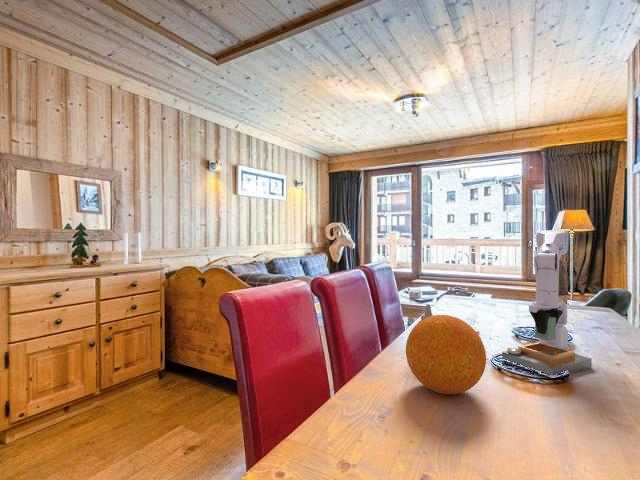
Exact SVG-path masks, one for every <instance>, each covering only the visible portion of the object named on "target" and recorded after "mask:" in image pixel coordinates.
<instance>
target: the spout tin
mask: <svg viewBox="0 0 640 480" xmlns="http://www.w3.org/2000/svg"><path fill="white" fill-rule="evenodd" d="M534 324H535V323H534ZM534 330H535V331H534V338H536V339H538V340H539V339H543V340H546V341H550V340H555V339H556V317H551V316H550V317H549V319H548V322H547V329H546V333H545V334H541V333H538V331H537V328H536V324H535V327H534Z"/></svg>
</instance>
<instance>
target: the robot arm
mask: <svg viewBox="0 0 640 480" xmlns="http://www.w3.org/2000/svg"><path fill="white" fill-rule="evenodd" d="M535 241H536V245H537V246H536V247H537V250H538V251H537V254H534V259H533V265H534V266H533V267H534V273H535V274H534V276H535V301H532V304H529V305H528V312H529V313H530V315H531V317H532V320H533V322H534V324H536V328H537V331H538V333H541V334H545V333H546V329H547V322H548V319H549V317H550V316H551V317H556V339H555V340H550V341H546V340H543V339H539V338H538V342H545V343H548V344H550V345H552V346H555V347H559V348H563V349H566V350H571V347H569V331H568V329H567V327H566V325H567V324H568V305H567V302H565V301H563V300H562V299H560V298H559V282H560V279H559V278H560V273H559V272H560V260H561V258H562V256H563V255H565V254H567V253H568V251H569V231H568V230H567V229H564V230H563V229H559V230H558V229H557V230H556V229H552V230H551V229H549V230H545V229H543V230H541V229H538V230H537V231H536V240H535Z"/></svg>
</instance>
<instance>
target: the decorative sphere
mask: <svg viewBox="0 0 640 480" xmlns="http://www.w3.org/2000/svg"><path fill="white" fill-rule="evenodd" d="M433 315H434V316H430V317H427V318H425V319H423V320H422V321H420V320H419V321H420V322H419V321H418V322H419V323H418V322H417V323H416V324H415V325H414V327H413V328H412V329H411V331H410V332H409V334H408V337H407V339H406V344H405V356H406V357H405V358H406V363H407V365H408V367H409V370H410V371H411V373H412V374H413V376H414V377H415V379H417V381H418V382H419V383H420V384H422V385H423V386H424V387H426V388H427V389H428V390H430V391H433V392H436V393H438V394H442V395H457V394H462V393H464V392H467V391H469V390H471V389H472V388H473V387H475V386H476V385H477V383H479V381H480V380H481V378H482V377H483V374H484V372H485V369H486V366H487V365H486V364H487V354H486V353H487V352H486V349H485V345H484V343H483V339H482V337H481V336H480V334H479V335H478V334H477V332H476V331H475V330H474V329H475V328H474V327H472V325H470V324H469V323H467V322H466V321H465V320H463V319H461V318H459V317H457V316H453V315H448V314H433ZM479 336H480V337H479Z"/></svg>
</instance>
